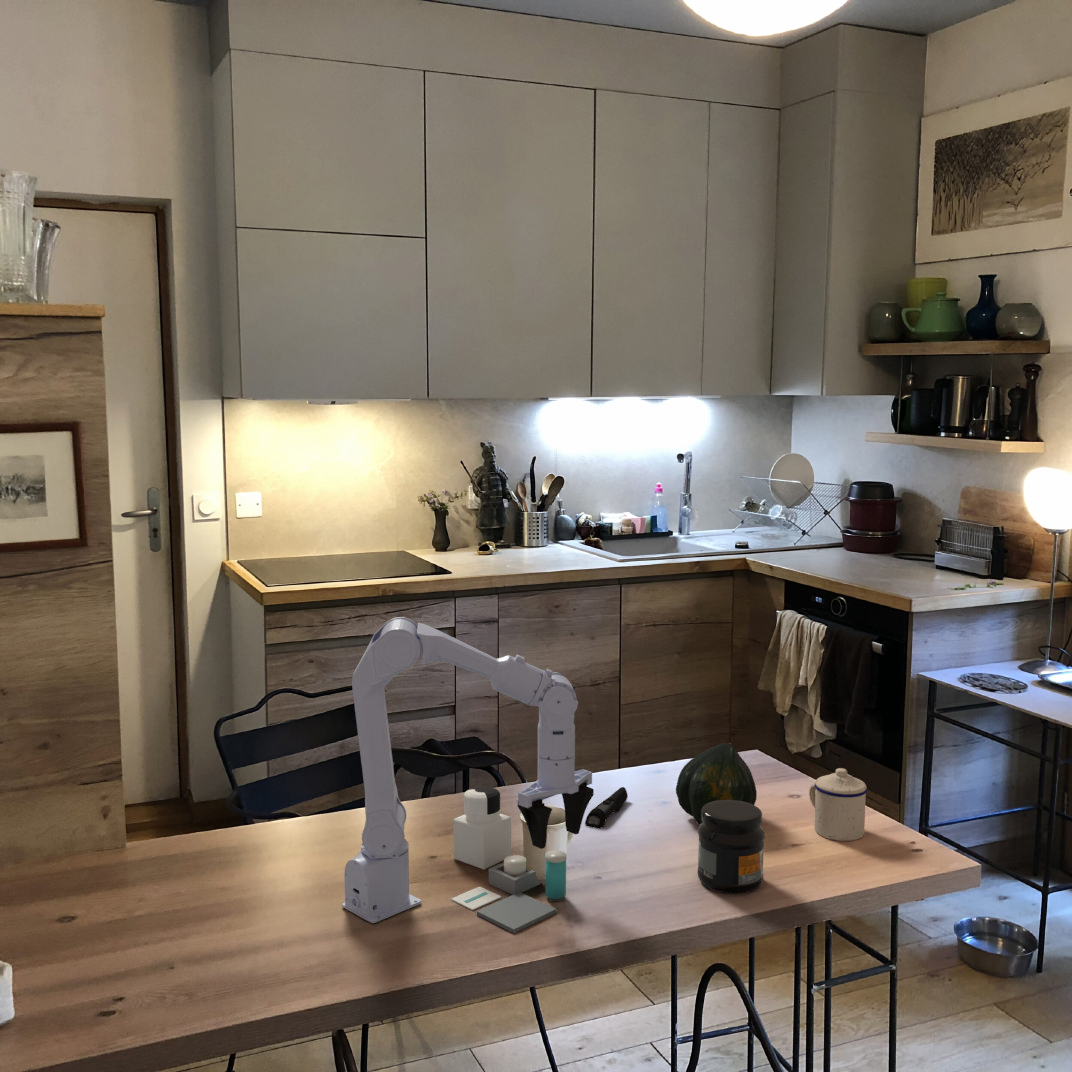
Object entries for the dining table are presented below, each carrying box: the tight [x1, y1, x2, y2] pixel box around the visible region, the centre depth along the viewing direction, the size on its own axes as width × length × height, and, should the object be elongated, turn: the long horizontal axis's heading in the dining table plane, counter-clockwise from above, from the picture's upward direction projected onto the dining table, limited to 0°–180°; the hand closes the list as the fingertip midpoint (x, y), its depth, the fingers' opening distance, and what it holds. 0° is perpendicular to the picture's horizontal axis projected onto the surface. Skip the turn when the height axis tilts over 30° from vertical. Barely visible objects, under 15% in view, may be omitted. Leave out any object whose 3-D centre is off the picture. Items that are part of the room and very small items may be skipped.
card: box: [450, 886, 502, 911], centre depth 168 cm, size 6×5×1 cm
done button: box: [503, 854, 527, 877], centre depth 173 cm, size 4×4×3 cm
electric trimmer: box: [584, 786, 628, 829], centre depth 203 cm, size 4×16×3 cm, turn 154°
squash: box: [675, 742, 758, 826], centre depth 199 cm, size 14×15×15 cm
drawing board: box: [476, 892, 557, 934], centre depth 163 cm, size 9×8×1 cm
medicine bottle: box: [452, 785, 512, 870], centre depth 182 cm, size 7×7×12 cm
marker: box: [544, 849, 567, 903], centre depth 168 cm, size 3×3×7 cm
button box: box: [488, 862, 541, 896], centre depth 173 cm, size 6×6×2 cm
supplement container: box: [697, 800, 766, 895], centre depth 173 cm, size 10×10×12 cm
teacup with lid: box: [808, 767, 868, 842], centre depth 194 cm, size 12×9×12 cm
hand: (556, 839), depth 167 cm, fingers open, 7 cm apart
